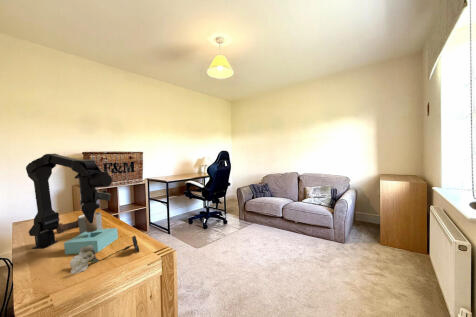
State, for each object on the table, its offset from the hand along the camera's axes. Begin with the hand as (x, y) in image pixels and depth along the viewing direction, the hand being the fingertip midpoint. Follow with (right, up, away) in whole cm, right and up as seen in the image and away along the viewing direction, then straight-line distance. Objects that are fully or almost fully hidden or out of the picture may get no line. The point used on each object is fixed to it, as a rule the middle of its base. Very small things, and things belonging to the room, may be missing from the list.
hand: (91, 221), depth 91 cm
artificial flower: (+17, -11, -14) cm, 24 cm away
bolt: (-30, -13, +27) cm, 42 cm away
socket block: (+1, -11, 0) cm, 11 cm away
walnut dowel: (0, -4, 0) cm, 4 cm away
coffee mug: (-13, -12, +18) cm, 25 cm away
